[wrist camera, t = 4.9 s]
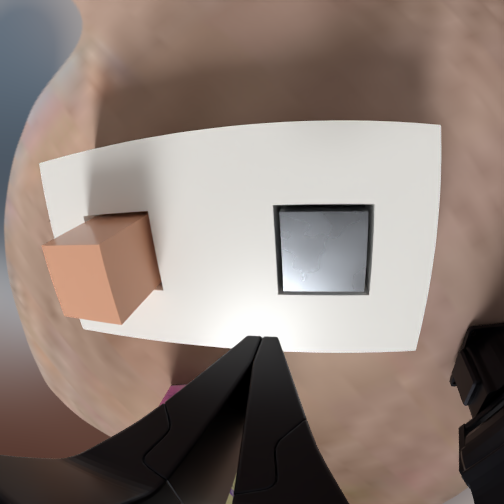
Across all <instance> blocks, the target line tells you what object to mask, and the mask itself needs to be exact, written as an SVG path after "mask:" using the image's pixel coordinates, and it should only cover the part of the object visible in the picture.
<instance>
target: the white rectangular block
mask: <svg viewBox="0 0 504 504" xmlns="http://www.w3.org/2000/svg"><path fill="white" fill-rule="evenodd" d="M39 165H40V171H41V177H42V183H43V189H44V194H45V199H46V204H47V209H48V213H49V218H50V222H51V226H52V231H53V235H54V239H55V238H56V237H58V236H60V235H62V234H64V233H66V232H67V231H69V230H71V229H73V228H75V227H77V226H79V225H81V224H82V223H84V222H86V221H88V220H90V219H92V218H94V217H96V216H98V215H100V214H113V213H125V212H139V211H148V215H149V220H150V226H151V231H152V237H153V242H154V247H155V252H156V257H157V262H158V267H159V272H160V276H161V281H162V282H161V283H160V284H159V285H158V286H157V287H156V288H155V289H154V290H153V291H152V293H151V294H150V295H149V296H148V297H147V298H146V299H145V300H144V301H143V302H142V303H141V304H140V306H139V307H138V308H137V309H136V310H135V311H134V312H133V313H132V314H131V315H130V317H129V318H128V319H127V320H126V321H125V322H124V323H123V324H122V325H118V324H111V323H104V322H98V321H91V320H85V319H80V321H81V324H82V326H83V329H87V330H92V331H98V332H103V333H109V334H115V335H122V336H128V337H135V338H142V339H149V340H156V341H164V342H173V343H181V344H190V345H200V346H210V347H222V348H233V347H234V346H235V345H236V344H238V343H239V342H240V341H241V340H242V339H244V338H245V337H246V336H248V335H252V336H261V337H262V338H263V337H264V336H271V337H278V339H279V341H280V344H281V347H282V350H283V351H287V352H327V353H357V352H396V351H415V350H416V347H417V343H418V339H419V334H420V330H421V326H422V321H423V317H424V312H425V307H426V302H427V297H428V291H429V285H430V280H431V273H432V267H433V260H434V253H435V245H436V236H437V226H438V215H439V202H440V184H441V125H435V124H423V123H409V122H391V121H358V120H328V121H294V122H275V123H261V124H248V125H237V126H227V127H218V128H210V129H202V130H194V131H187V132H180V133H174V134H167V135H161V136H155V137H149V138H144V139H139V140H133V141H128V142H123V143H118V144H114V145H109V146H104V147H100V148H96V149H91V150H87V151H83V152H79V153H75V154H71V155H67V156H64V157H60V158H56V159H53V160H49V161H46V162H42V163H39ZM301 204H365V206H366V208H367V210H368V241H367V260H366V275H365V287H364V292H309V291H283V271H282V251H281V232H280V215H279V212H280V210H281V207H282V205H301Z"/></svg>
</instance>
